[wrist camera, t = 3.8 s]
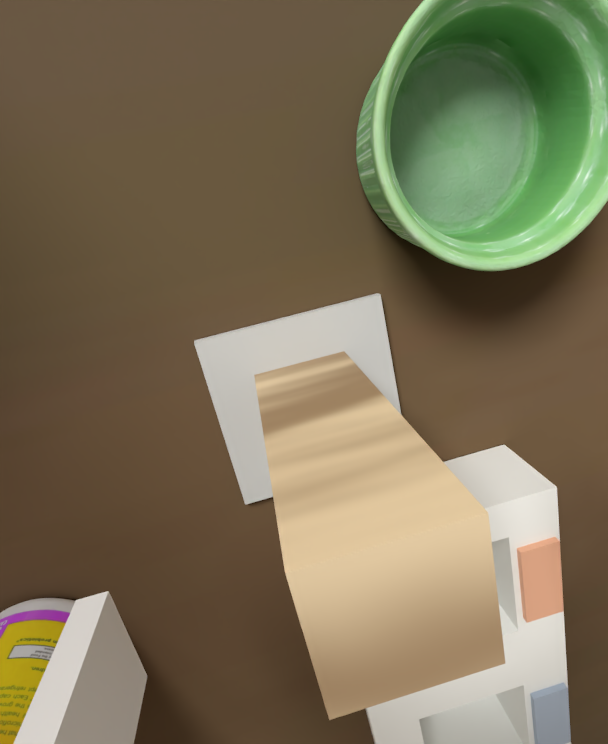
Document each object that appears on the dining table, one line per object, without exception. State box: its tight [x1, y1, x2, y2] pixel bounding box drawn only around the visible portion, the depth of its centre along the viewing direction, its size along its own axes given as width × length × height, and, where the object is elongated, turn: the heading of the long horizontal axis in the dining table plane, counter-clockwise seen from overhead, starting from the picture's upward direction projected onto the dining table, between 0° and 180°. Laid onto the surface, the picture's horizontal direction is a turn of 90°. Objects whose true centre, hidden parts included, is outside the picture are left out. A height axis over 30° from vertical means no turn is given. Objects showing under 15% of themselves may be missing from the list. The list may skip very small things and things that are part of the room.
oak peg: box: [254, 351, 505, 720], centre depth 15 cm, size 4×4×12 cm
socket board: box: [365, 445, 571, 744], centre depth 24 cm, size 18×10×4 cm, turn 13°
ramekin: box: [356, 0, 608, 271], centre depth 17 cm, size 9×9×4 cm
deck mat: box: [194, 293, 401, 505], centre depth 21 cm, size 8×8×1 cm
